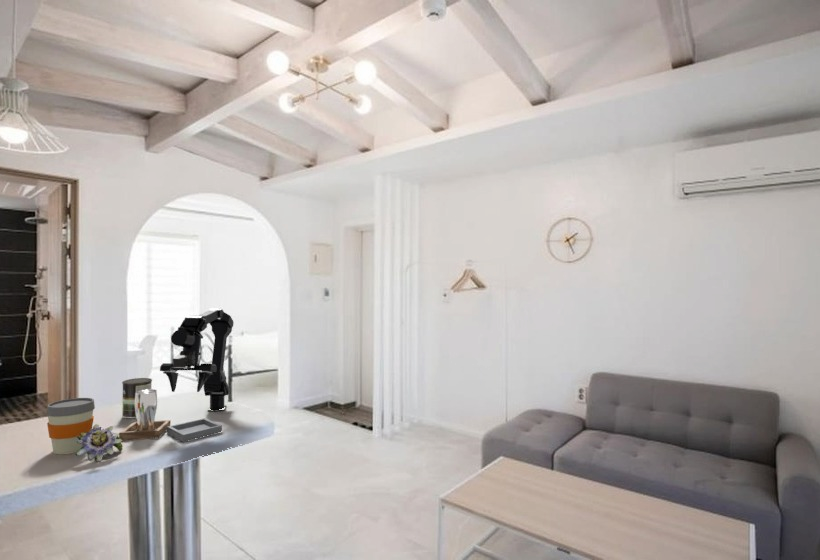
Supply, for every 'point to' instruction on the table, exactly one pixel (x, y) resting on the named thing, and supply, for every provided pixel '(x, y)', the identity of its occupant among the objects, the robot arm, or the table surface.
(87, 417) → the reusable coffee cup
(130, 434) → the walnut collar
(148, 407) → the shiny silver hollow cylinder
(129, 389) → the coffee can
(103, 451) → the passion flower
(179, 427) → the coaster tray
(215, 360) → the robot arm
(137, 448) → the table surface
